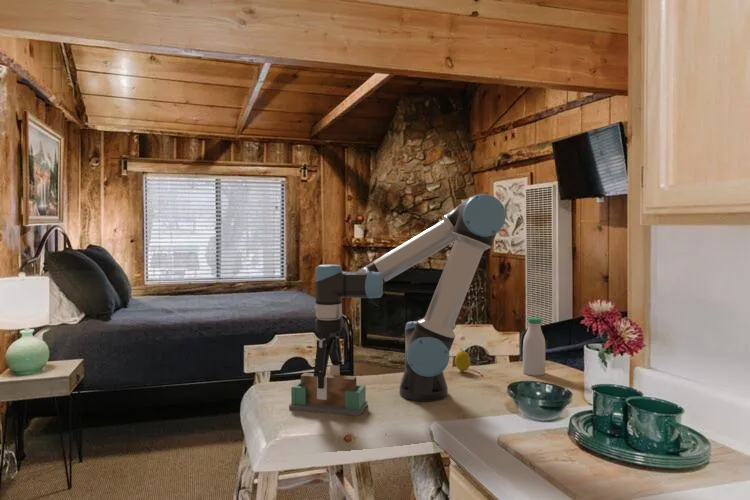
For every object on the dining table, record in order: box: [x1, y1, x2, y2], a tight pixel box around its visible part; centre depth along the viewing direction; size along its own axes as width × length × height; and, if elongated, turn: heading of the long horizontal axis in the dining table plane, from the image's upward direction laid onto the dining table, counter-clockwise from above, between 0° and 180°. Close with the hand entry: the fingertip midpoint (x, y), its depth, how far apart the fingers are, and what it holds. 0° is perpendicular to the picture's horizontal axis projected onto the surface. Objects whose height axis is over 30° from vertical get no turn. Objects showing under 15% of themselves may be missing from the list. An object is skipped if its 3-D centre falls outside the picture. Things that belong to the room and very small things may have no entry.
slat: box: [300, 372, 357, 406], centre depth 154 cm, size 16×3×8 cm, turn 76°
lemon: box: [454, 349, 471, 373], centre depth 191 cm, size 6×6×8 cm
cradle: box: [288, 379, 368, 417], centre depth 154 cm, size 21×9×6 cm, turn 76°
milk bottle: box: [522, 316, 546, 377], centre depth 190 cm, size 8×8×20 cm
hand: (328, 392), depth 154 cm, fingers open, 11 cm apart
